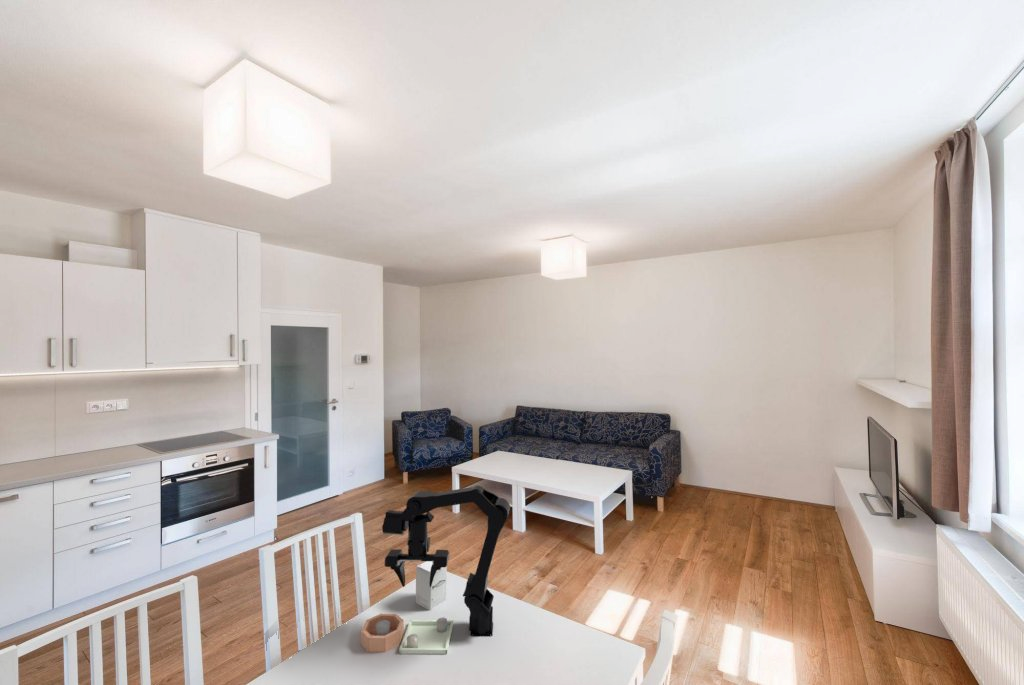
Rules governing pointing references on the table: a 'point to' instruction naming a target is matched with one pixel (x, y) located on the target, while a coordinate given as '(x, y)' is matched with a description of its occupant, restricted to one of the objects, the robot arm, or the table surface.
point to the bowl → (382, 642)
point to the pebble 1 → (412, 641)
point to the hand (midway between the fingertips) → (417, 586)
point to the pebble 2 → (441, 625)
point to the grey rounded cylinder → (382, 628)
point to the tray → (427, 637)
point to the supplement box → (424, 592)
